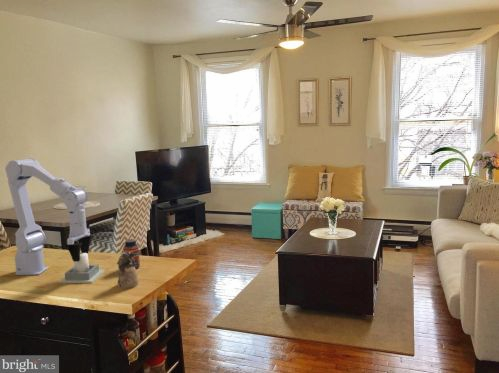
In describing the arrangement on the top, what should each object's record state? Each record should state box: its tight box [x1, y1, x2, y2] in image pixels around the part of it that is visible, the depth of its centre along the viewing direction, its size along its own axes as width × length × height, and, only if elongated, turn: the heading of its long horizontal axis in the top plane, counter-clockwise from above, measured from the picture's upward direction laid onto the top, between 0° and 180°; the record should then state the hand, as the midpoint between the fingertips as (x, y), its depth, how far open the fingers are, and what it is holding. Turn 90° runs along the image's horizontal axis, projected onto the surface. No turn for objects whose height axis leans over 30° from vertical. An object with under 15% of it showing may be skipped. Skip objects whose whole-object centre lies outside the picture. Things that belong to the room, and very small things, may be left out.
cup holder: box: [58, 264, 105, 284], centre depth 161 cm, size 12×12×3 cm
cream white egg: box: [73, 252, 90, 272], centre depth 161 cm, size 5×5×8 cm
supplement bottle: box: [122, 238, 141, 270], centre depth 169 cm, size 6×6×11 cm
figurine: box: [116, 252, 139, 290], centre depth 152 cm, size 7×7×12 cm
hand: (80, 257), depth 160 cm, fingers open, 7 cm apart
